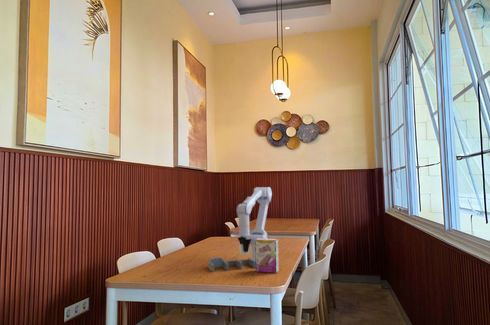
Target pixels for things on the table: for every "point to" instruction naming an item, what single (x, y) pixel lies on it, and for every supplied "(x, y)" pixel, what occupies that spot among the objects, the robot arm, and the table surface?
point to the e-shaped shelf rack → (229, 263)
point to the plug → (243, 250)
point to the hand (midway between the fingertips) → (244, 251)
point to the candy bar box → (266, 255)
